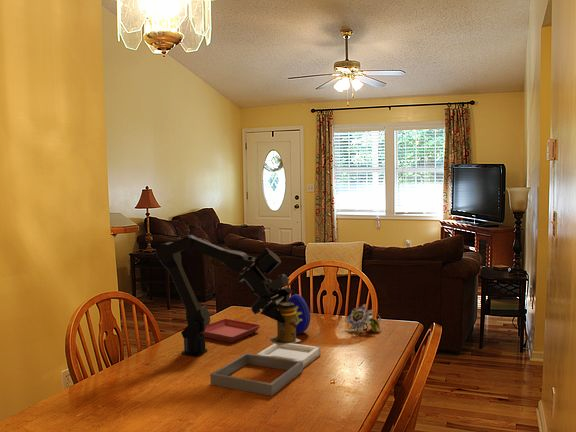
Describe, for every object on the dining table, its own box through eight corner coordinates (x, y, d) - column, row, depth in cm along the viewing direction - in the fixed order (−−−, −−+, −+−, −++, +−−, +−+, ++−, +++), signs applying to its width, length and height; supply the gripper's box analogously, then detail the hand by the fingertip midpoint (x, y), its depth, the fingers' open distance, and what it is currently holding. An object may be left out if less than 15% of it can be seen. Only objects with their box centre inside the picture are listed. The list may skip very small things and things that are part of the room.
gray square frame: (210, 384, 150) (210, 374, 149) (246, 362, 167) (245, 353, 167) (272, 396, 141) (271, 385, 141) (302, 371, 159) (302, 361, 158)
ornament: (278, 334, 197) (277, 295, 196) (287, 328, 206) (287, 290, 205) (305, 337, 193) (305, 297, 192) (314, 331, 201) (313, 292, 200)
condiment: (301, 341, 167) (301, 304, 166) (278, 346, 162) (278, 308, 161) (289, 335, 173) (288, 299, 172) (267, 340, 168) (266, 303, 168)
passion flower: (356, 345, 200) (338, 319, 202) (368, 333, 208) (351, 308, 210) (377, 334, 193) (358, 307, 195) (389, 322, 202) (370, 296, 204)
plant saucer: (261, 332, 201) (261, 324, 201) (232, 345, 186) (232, 336, 186) (225, 326, 211) (225, 318, 211) (194, 337, 196) (194, 329, 196)
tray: (256, 362, 167) (256, 354, 167) (277, 348, 181) (277, 341, 181) (301, 369, 160) (301, 361, 160) (320, 354, 174) (320, 347, 174)
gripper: (259, 271, 160) (291, 311, 156) (286, 263, 177) (316, 298, 172) (237, 294, 164) (268, 333, 160) (266, 284, 181) (295, 319, 177)
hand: (288, 320), depth 167 cm, fingers closed on condiment, 6 cm apart
